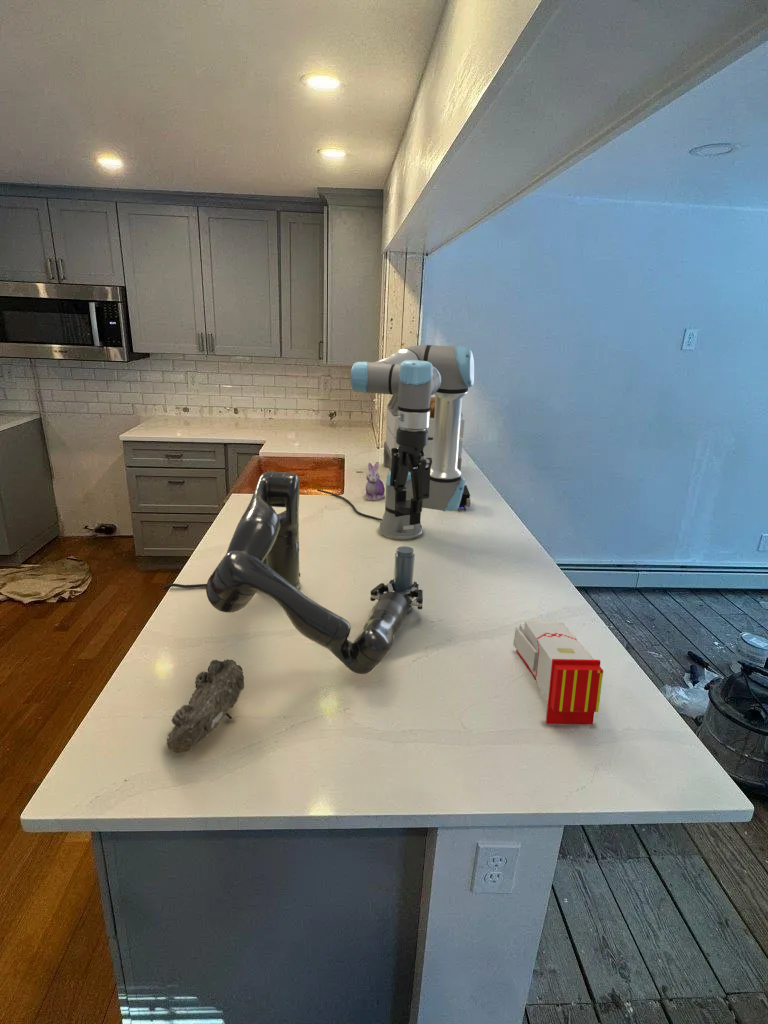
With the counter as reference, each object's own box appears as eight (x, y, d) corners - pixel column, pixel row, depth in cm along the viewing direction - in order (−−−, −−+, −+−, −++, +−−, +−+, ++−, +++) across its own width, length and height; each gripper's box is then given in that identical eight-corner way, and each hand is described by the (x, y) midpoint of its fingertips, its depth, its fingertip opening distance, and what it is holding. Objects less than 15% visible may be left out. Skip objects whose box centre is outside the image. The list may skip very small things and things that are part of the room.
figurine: (369, 502, 230) (370, 466, 225) (359, 494, 239) (360, 460, 234) (390, 499, 234) (391, 464, 229) (378, 492, 243) (380, 458, 238)
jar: (389, 605, 151) (392, 547, 146) (405, 602, 153) (409, 544, 148) (397, 614, 147) (400, 554, 141) (414, 611, 149) (418, 551, 143)
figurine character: (470, 515, 225) (465, 499, 238) (472, 498, 221) (467, 483, 235) (453, 515, 224) (449, 499, 238) (455, 497, 221) (451, 482, 234)
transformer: (382, 463, 289) (386, 382, 275) (445, 464, 293) (451, 384, 279) (390, 482, 257) (394, 392, 243) (460, 483, 261) (468, 394, 247)
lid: (418, 515, 138) (419, 508, 137) (394, 513, 139) (394, 506, 138) (420, 507, 143) (420, 501, 143) (397, 505, 144) (397, 499, 144)
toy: (559, 606, 135) (612, 666, 105) (553, 658, 137) (604, 731, 108) (508, 605, 134) (547, 665, 105) (504, 658, 137) (541, 730, 108)
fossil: (192, 660, 117) (244, 628, 112) (224, 691, 120) (276, 661, 115) (142, 746, 98) (202, 712, 93) (182, 779, 101) (242, 748, 96)
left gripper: (359, 622, 138) (379, 591, 154) (416, 632, 135) (430, 600, 150) (360, 594, 136) (380, 566, 151) (418, 605, 132) (432, 574, 148)
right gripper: (377, 422, 139) (374, 510, 147) (424, 437, 125) (417, 535, 133) (402, 419, 143) (398, 506, 151) (450, 434, 129) (442, 529, 137)
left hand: (405, 583), depth 151 cm, fingers closed on jar, 5 cm apart
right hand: (407, 519), depth 142 cm, fingers closed on lid, 6 cm apart
